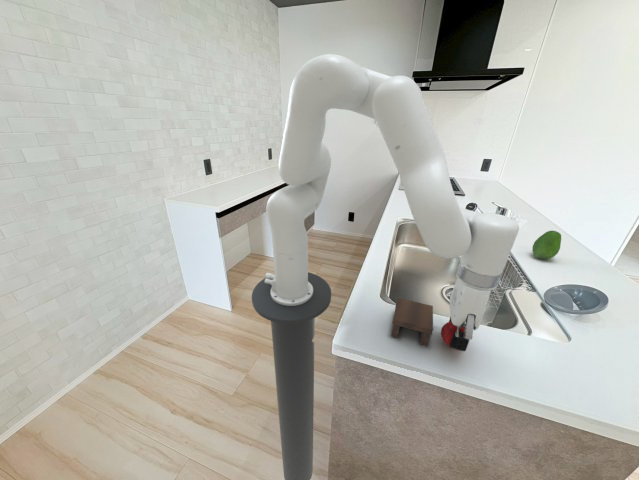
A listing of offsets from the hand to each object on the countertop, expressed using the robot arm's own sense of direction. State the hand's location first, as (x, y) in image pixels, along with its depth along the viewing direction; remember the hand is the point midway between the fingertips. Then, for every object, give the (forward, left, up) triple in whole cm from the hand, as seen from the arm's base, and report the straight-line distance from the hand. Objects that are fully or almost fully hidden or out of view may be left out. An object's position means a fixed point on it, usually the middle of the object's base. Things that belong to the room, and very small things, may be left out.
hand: (456, 337), depth 61 cm
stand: (-10, +2, -3) cm, 11 cm away
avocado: (+36, +61, -3) cm, 71 cm away
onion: (-1, 0, -3) cm, 3 cm away
